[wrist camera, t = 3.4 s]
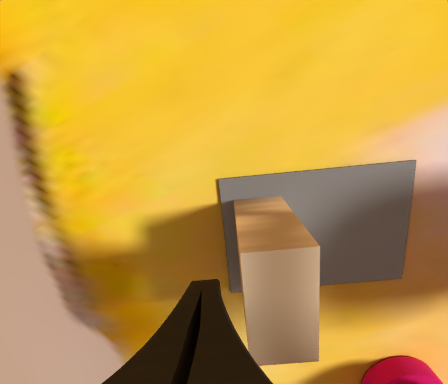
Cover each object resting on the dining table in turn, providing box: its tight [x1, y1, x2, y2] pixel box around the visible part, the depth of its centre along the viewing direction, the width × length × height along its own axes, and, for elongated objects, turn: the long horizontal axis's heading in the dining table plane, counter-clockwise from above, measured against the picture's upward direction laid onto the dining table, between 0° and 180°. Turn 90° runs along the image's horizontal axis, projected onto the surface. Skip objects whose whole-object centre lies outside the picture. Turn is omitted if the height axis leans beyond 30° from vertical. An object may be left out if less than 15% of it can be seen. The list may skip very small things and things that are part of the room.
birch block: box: [234, 196, 320, 366], centre depth 14 cm, size 3×6×7 cm, turn 6°
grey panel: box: [219, 160, 416, 293], centre depth 17 cm, size 13×9×1 cm
